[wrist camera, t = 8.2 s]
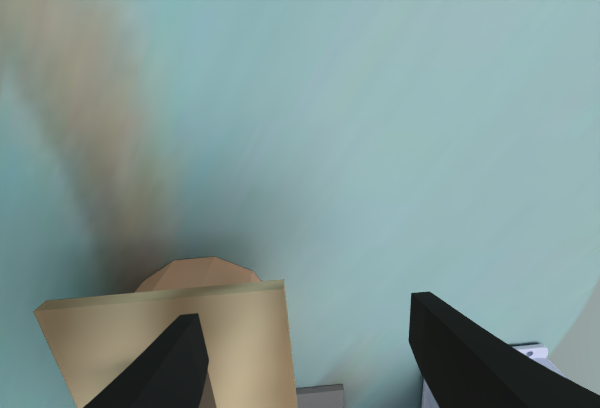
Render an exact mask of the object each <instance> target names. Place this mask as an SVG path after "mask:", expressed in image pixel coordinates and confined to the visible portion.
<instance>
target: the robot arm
mask: <svg viewBox="0 0 600 408" xmlns="http://www.w3.org/2000/svg"><path fill="white" fill-rule="evenodd" d="M409 343H410V346H411V349H412V351H413V354H414V357H415V359H416V362H417V364H418V367H419V369H420V372H421V374H422V375H423V377H424V382H423V394H422V406H421V408H600V395H598V394H596V393H594V392H592V391H589V390H588V389H586V388H584V387H582V386H580V385H578V384H576V383H574V382H573V381H571V380H569V379H568V378H567V377H566V376H565V375H564V374H563V373H562V372H560V370H559V369H558V368H557V367H556V366H554V365H553V364H552V363H551V362H550V361H549V360H548V359H547V354H548V349H547V348H546V347H545V346H544V345H543V344H536V345H525V346H515V347H511V346H510V345H508V344H506V343H505V342H503V341H502V340H500V339H499V338H497V337H495V336H494V335H492V334H491V333H489V332H488V331H486V330H485V329H483V328H482V327H480V326H479V325H477V324H476V323H474V322H473V321H471V320H470V319H469V318H467V317H466V316H464V315H463V314H461V313H460V312H458V311H457V310H456V309H454V308H453V307H451V306H450V305H448V304H447V303H446V302H444V301H443V300H441V299H440V298H438V297H437V296H435V295H434V294H432V293H431V292H420V293H411V309H410V327H409ZM208 364H209V357H208V353H207V348H206V344H205V340H204V336H203V331H202V327H201V323H200V318H199V314H198V313H194V314H183V315H179V316H178V317H177V318H176V319H175V320H174V321H173V322H172V323H171V324H170V325H169V326H168V327H167V328H166V329H165V330H164V331H163V332H162V333H161V334H160V335H159V336H158V337H157V338H156V339H155V340H154V341H153V342H152V343H151V344H150V345H149V346H148V347H147V348H146V349H145V350H144V351H143V352H142V353H141V354H140V355H139V356H138V357H137V358H136V359H135V360H134V361H133V362H132V363H131V364H130V365H129V366H128V367H127V368H126V369H125V370H124V371H123V372H122V373H121V374H119V375H118V376H117V377H116V378H115V379H114V380H113V381H112V382H111V383H110V384H109V385H108V386H106V387H105V388H104V389H103V390H102V391H101V392H100V393H99V394H98V395H97V396H96V397H94V398H93V399H92V400H91V401H90V402H89V403H88V404H86V405H85V406H84V407H83V408H199V404H200V401H201V398H202V394H203V390H204V385H205V380H206V375H207V370H208Z"/></svg>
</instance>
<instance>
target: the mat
mask: <svg viewBox="0 0 600 408" xmlns="http://www.w3.org/2000/svg"><path fill="white" fill-rule="evenodd" d="M296 396H297V406H298V408H344V389H343V384H340V385H330V386H320V387H309V388H299V389H296Z"/></svg>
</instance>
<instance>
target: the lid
mask: <svg viewBox="0 0 600 408" xmlns="http://www.w3.org/2000/svg"><path fill="white" fill-rule="evenodd" d="M33 312H34V314H35V316H36V318H37V321H38V323H39V325H40V327H41V329H42V332H43V334H44V336H45V338H46V340H47V343H48V345H49V347H50V349H51V351H52V354H53V356H54V358H55V360H56V362H57V365H58V367H59V369H60V371H61V373H62V376H63V378H64V380H65V382H66V384H67V387H68V389H69V391H70V393H71V395H72V398H73V400H74V402H75V404H76V406H77V408H83V407H84V406H85V405H86V404H88V403H89V402H90V401H91V400H92V399H93V398H94V397H96V396H97V395H98V394H99V393H100V392H101V391H102V390H103V389H104V388H105V387H106V386H108V385H109V384H110V383H111V382H112V381H113V380H114V379H115V378H116V377H117V376H118V375H119V374H121V373H122V372H123V371H124V370H125V369H126V368H127V367H128V366H129V365H130V364H131V363H132V362H133V361H134V360H135V359H136V358H137V357H138V356H139V355H140V354H141V353H142V352H143V351H144V350H145V349H146V348H147V347H148V346H149V345H150V344H151V343H152V342H153V341H154V340H155V339H156V338H157V337H158V336H159V335H160V334H161V333H162V332H163V331H164V330H165V329H166V328H167V327H168V326H169V325H170V324H171V323H172V322H173V321H174V320H175V319H176V318H177V317H178V316H179V315H183V314H194V313H198V314H199V318H200V323H201V327H202V331H203V336H204V340H205V344H206V348H207V353H208V357H209V364H208V370H207V375H206V380H205V385H204V390H203V394H202V398H201V401H200V404H199V408H298V406H297V396H296V387H295V378H294V368H293V359H292V350H291V340H290V331H289V322H288V313H287V303H286V294H285V285H284V279H283V280H272V281H261V282H250V283H239V284H227V285H216V286H205V287H194V288H183V289H171V290H160V291H149V292H138V293H127V294H115V295H104V296H93V297H82V298H70V299H59V300H48V301H45V302H44V303H43V304H42V305H40V306H39V307H38V308H37V309H36V310H34V311H33Z"/></svg>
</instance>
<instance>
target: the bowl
mask: <svg viewBox="0 0 600 408" xmlns="http://www.w3.org/2000/svg"><path fill="white" fill-rule="evenodd" d="M250 282H261V280H260V279H259V278H258V277H257V276H256V275H255V273H254V272H253V271H251V270H248V269H246V268H243V267H241V266H238V265H235V264H233V263H230V262H227V261H225V260H222V259H220V258H217V257H205V258H194V259H183V260H174V261H172V262H171V263H169V264H168V265H166V266H165V267H163V268H162V269H160V270H159V271H158V272H156V273H155V274H153V275H152V276H150V277H149V278H147V279H146V280H144V281H143V282H142V284H141V285H140V286H139V287H138V289H137V290H136V291H135V292H134V293H138V292H149V291H160V290H171V289H183V288H194V287H205V286H216V285H227V284H239V283H250Z"/></svg>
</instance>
